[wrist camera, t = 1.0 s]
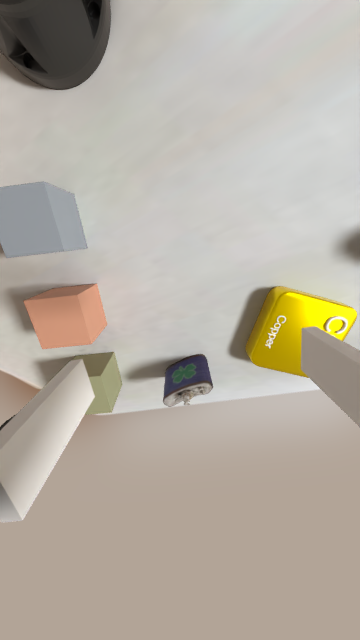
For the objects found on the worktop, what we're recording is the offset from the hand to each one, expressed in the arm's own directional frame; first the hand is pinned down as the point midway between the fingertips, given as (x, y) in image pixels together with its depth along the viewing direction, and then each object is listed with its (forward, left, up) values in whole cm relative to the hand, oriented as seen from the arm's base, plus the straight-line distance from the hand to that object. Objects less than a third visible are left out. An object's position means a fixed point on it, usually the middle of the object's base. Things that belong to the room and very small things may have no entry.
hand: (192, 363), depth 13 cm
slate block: (-17, -15, -27) cm, 35 cm away
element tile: (+18, +15, -28) cm, 36 cm away
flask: (+16, -7, -27) cm, 32 cm away
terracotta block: (-4, -19, -27) cm, 33 cm away
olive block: (+9, -24, -27) cm, 37 cm away
